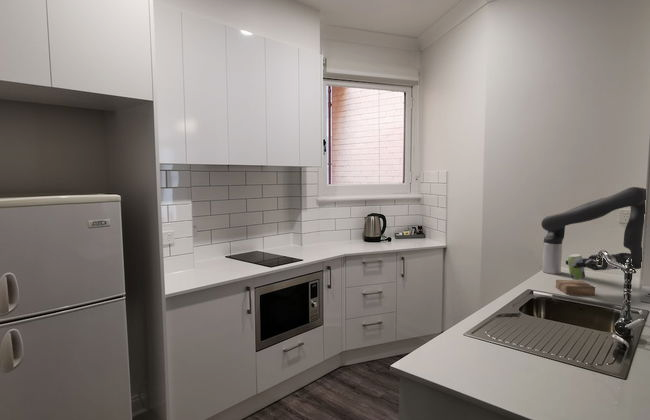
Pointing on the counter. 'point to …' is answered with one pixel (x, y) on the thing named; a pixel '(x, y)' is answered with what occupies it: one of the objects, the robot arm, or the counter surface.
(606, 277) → the counter surface
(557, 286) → the walnut base
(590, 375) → the counter surface
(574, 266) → the beverage can
